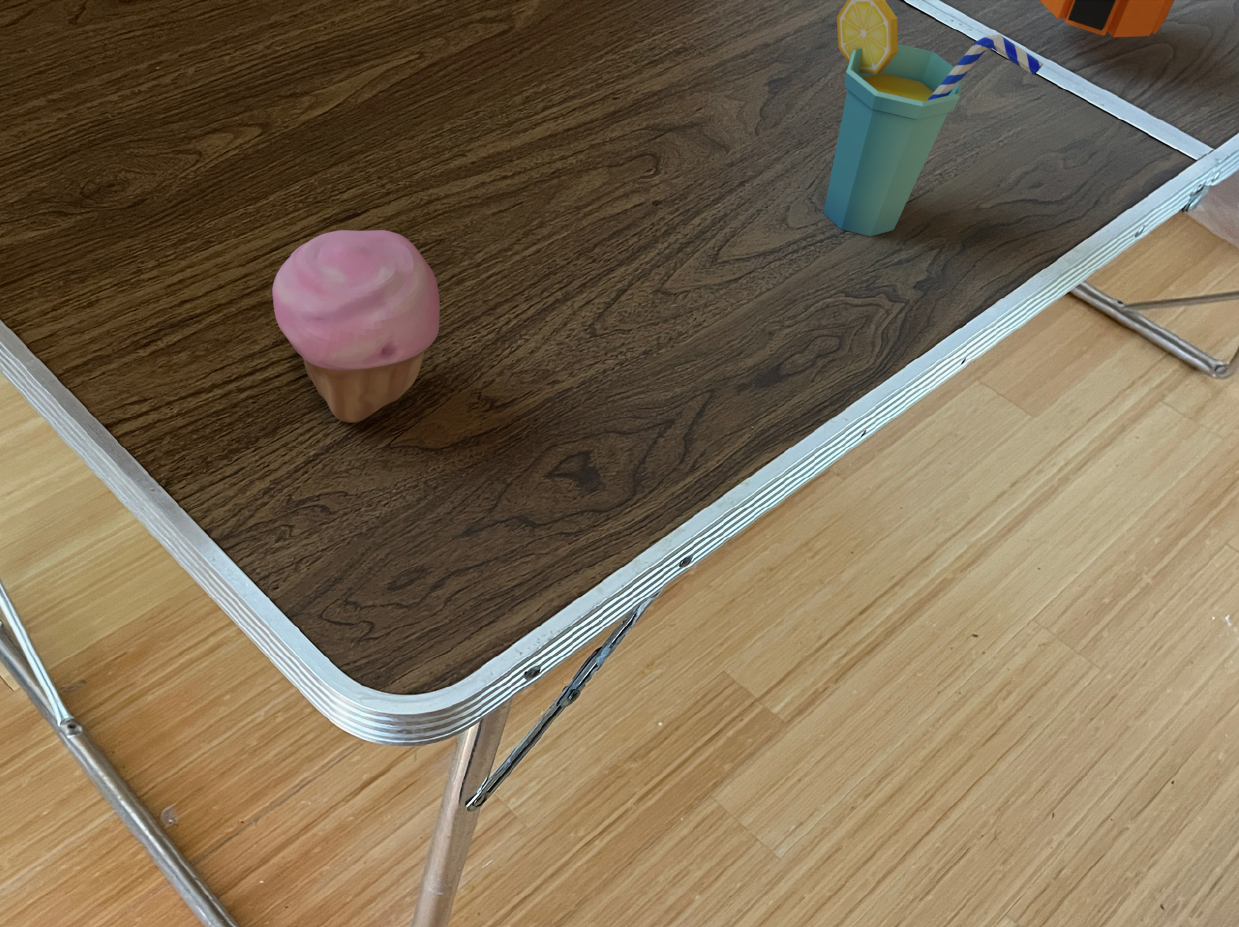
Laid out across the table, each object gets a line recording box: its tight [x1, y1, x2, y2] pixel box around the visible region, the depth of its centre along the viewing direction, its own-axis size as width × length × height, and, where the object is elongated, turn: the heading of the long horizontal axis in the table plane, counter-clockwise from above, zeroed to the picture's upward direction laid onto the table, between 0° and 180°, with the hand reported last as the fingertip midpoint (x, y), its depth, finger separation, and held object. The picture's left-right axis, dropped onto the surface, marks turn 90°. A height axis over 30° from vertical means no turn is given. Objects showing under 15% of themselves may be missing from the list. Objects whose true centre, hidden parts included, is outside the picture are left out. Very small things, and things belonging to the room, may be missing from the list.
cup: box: [823, 0, 1044, 237], centre depth 81 cm, size 14×8×15 cm, turn 50°
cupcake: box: [271, 229, 441, 424], centre depth 67 cm, size 9×9×10 cm
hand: (1104, 0), depth 100 cm, fingers closed on ring, 9 cm apart
